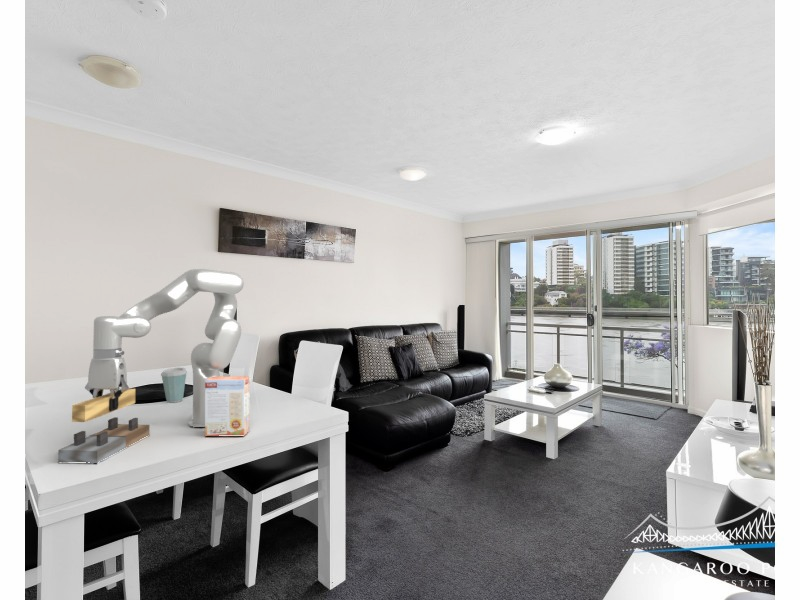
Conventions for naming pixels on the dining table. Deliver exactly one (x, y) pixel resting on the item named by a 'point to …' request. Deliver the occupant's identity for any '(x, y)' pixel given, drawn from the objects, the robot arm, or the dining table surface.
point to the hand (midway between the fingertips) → (106, 409)
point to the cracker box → (226, 406)
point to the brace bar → (100, 406)
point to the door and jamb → (103, 442)
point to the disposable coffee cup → (174, 384)
